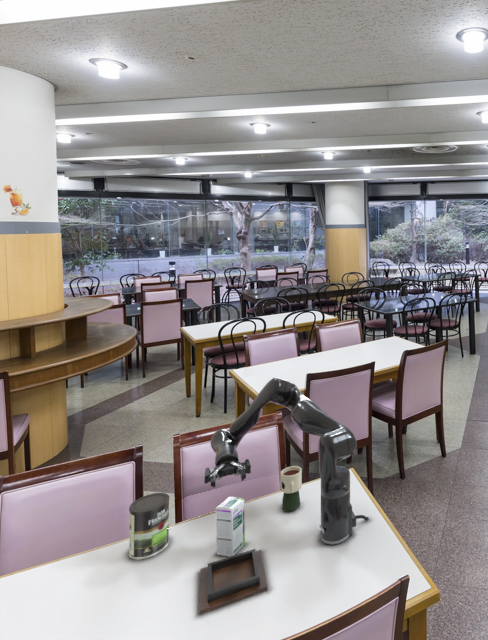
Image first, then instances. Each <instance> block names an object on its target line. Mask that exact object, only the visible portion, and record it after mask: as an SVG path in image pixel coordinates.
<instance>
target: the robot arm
mask: <svg viewBox="0 0 488 640" xmlns="http://www.w3.org/2000/svg"><path fill="white" fill-rule="evenodd" d="M268 403H272V404H275V405H279V406H281V407H285V408H286V409H288V410H289V411H290V418H291V421H292V422H293V423H294V425H296V427H298V429H300V430H301V431H302V432H303V433H306V434H308V435H311V436H318V437H319V439H318V443H317V455H318V472H319V478H320V523H319V529H320V533H319V534H320V536H319V537H320V540H321V542H322V543H323V544H325V545H330V546H333V545H339V544H341V543H343V542H345V541H346V540H348V539H349V538H350V537H352V536H353V528H355V527H357V520H358V519H363V520H364V521H368V520H369V516H366V515H364V514H358V515H355V513H354V511H353V506H352V503H351V471H350V470H349V469H348V467H345V466H344V465H337V463H338V462H340V461H342V460H344V459H345V460H346V459H348V458H349V457H351V456H352V455H353V454H354V453H355V452H356V450H357V447H358V444H357V443H358V442H357V439H356V437H355V434H354V433H353V432H352V431H351V429H349V428H348V427H347V426H346V425H344V424H343V423H341V422H339V421H337V420H336V419H335V418H333V417H332V416H330V415H329V414H328V413H326V411H324V410H323V409H322V408H321V407H320V406H319V405H317V404H316V403H315V402H314V401H312V400H311V399H310V398H309V397H307V396H305V395H304V394H303V392H302V391H301V390H300V389H299V388H298V386H297V385H296V384H295V383H293V382H292V381H289V380H286V379H284V378H281V377H273V378H271V379H270V380H269V381H268V382H266V384H265V385H264V386H263V388H262V389H261V390H260V391H259V393H257V395H256V397H255V398H254V399H253V400H252V402H251V403H250V404H249V405H248V407H247V408H246V409H245V410H244V411H243V412H242V413H241V414H240V415H239V416H238V417H237V418H236V419H234V421H232V423H231V424H230V425H229V430H227V429H226V428H220V429H217V430H216V431H215V432H213V434H212V436H211V438H210V443H209V444H210V447H211V449H212V451H213V452H214V453H215V456H214V466H215V467H214V468H211V469H210V467H206V468H205V469H204V470H205V471H204V484H205V485H207V484H209V483H210V487H212V488H213V489H214V488H216V481H220V480H221V479H222V478H224V477H228V476H232V475H234V476H236V477H239V476H240V480H241V482H243V481H245V479H247V475H249V474H251V473H252V469H251V467H252V465H251V461H250V460H249V458H246V459H245V460H244V462H240V461H239V460H240V459H239V452H238V451H237V448H238V447H239V445H240V443H241V441H242V440H243V439H244V437H245V436H246V435H247V434H248V433H250V431H251V430H252V429H253V428H254V427H255V426H256V425H257V424H258V422H259V420H260V417H261V411H262V409H263V407H264V406H266V404H268Z"/></svg>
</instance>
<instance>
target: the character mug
mask: <svg viewBox="0 0 488 640" xmlns="http://www.w3.org/2000/svg"><path fill="white" fill-rule="evenodd" d="M302 470H303V469H302V467H301V466H298V465H292V466H290V465H289V466H287V467H285V468H283V469H281V471H280V492H281V493H283V495H282V501H281V510H282V511H284V512H290V511H291V512H292V511H294V510H296V509H298V508H300V506H301V497H300V490H301V489H302V487H303V486H302V485H303V484H302V483H303V482H302V481H303V480H302V479H303V471H302Z"/></svg>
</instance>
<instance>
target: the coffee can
mask: <svg viewBox="0 0 488 640" xmlns="http://www.w3.org/2000/svg"><path fill="white" fill-rule="evenodd" d="M128 510H129V511H128V512H129V543H128V544H129V547H128V549H129V550H128V556H129V558H130V559H132V560H136V561H138V560H139V561H140V560H145V559H149V558H152V557H154V556H156V555H158V554H160V553H161V552H163V551H164V550H165V549H166V548H167V547H168V546H169V542H170V541H169V533H170V532H169V529H167V528H170V527H169V526H170V524H169V522H170V519H169V518H170V516H169V515H170V495H169V494H168V493H166V492H155V493H150V494H146V495H143V496H141V497H139V498H137V499H135V500H134V501H133V502H132V503H131V504H129V507H128Z"/></svg>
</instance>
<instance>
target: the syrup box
mask: <svg viewBox="0 0 488 640" xmlns="http://www.w3.org/2000/svg"><path fill="white" fill-rule="evenodd" d="M215 526H216V527H215V535H216V537H215V539H216V541H215V543H216V544H215V545H216V555H217V556H223V557H231V556H234V555H237V554H238V552H239V551H240V550H241V549H242V548H243V547H244V546H245V544H246V534H245V533H246V531H245V529H246V528H245V498H243V497H240V496H239V497H238V496H228V497H227V498H226V499H224V500H223V501H222V502H221V503H220V504H219V505H217V506H216V507H215Z"/></svg>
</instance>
